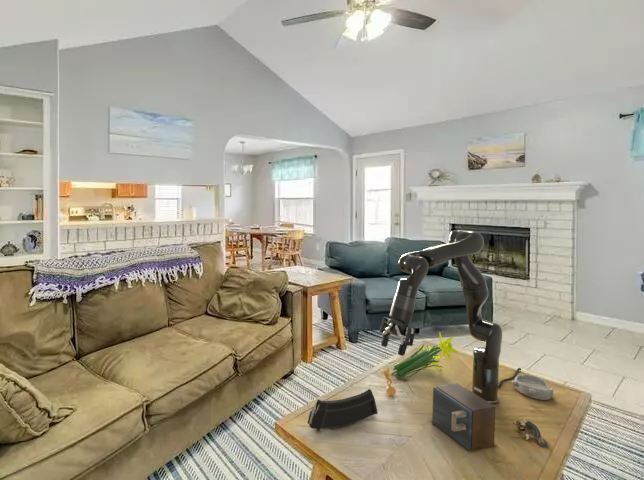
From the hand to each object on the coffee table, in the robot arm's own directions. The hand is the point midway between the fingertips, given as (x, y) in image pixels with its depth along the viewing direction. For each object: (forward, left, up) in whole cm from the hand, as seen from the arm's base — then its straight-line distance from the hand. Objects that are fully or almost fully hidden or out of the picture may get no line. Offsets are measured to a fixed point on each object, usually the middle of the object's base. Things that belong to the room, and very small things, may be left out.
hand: (391, 350), depth 137 cm
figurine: (-24, -3, -30) cm, 39 cm away
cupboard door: (-5, +18, -29) cm, 35 cm away
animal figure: (-20, +45, -30) cm, 57 cm away
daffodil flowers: (-54, +8, -30) cm, 62 cm away
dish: (-60, +52, -30) cm, 85 cm away
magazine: (+5, -16, -30) cm, 34 cm away
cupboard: (-11, +24, -30) cm, 40 cm away
